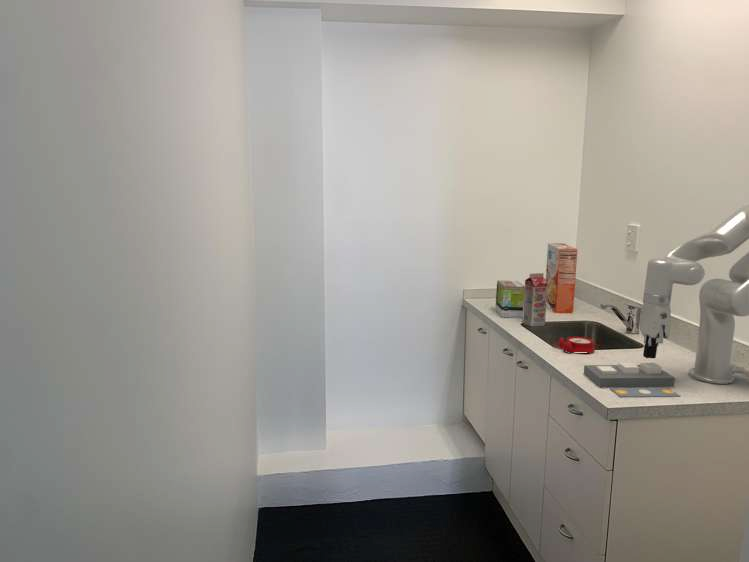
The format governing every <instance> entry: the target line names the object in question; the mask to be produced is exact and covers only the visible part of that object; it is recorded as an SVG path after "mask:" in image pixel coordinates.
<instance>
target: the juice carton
mask: <svg viewBox="0 0 749 562" xmlns="http://www.w3.org/2000/svg"><path fill="white" fill-rule="evenodd" d="M547 284H548V282H547V281H546V278H545V277H544V272H543V273H542V272H541V273H537V272H536V273H529V277H528V278H526V279H525V280H524V286H525V291H524V306H523V317H522V323H523V324H525V325H528V326H529V327H540V326H546V325H545V324H546V314H547V312H546V311H547V305H546V299H547Z"/></svg>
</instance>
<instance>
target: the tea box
mask: <svg viewBox="0 0 749 562" xmlns="http://www.w3.org/2000/svg"><path fill="white" fill-rule="evenodd" d="M524 291H525V284H524V285H523V283H521V282H520V281H518V280H497V281H496V291H495V309H494V310H495V311H496V313H497V314H498V315H499V316H500V317H501V318H503V317H505V318H506V319H507V318H508V319H510V318H511V319H523V309H524Z"/></svg>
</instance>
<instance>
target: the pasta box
mask: <svg viewBox="0 0 749 562" xmlns="http://www.w3.org/2000/svg"><path fill="white" fill-rule="evenodd" d="M577 261H578V249H577V248H576V247H573V246H571V245H570V244H569V245H568V244H567V243H561V242H560V243H556V242H555V243H552V242H551V243H550V242H548V243H547V253H546V269H545V280H546V281H547V282H548V284H547V299H546V303H547V304H548V305H549V306H550V308H551V309H552V310H551V309H550V308H549V309H550V310H551V311H553V313H554V314H574V303H575V301H574V299H575V287H576V286H575V285H576V273H577Z"/></svg>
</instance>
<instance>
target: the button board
mask: <svg viewBox="0 0 749 562" xmlns="http://www.w3.org/2000/svg"><path fill="white" fill-rule="evenodd" d="M636 365H637V366H638V367H639V374H624V373H622V372H621V371H619V370H618V366H619V364H601V365H600V364H591V365H589V364H585V365H583V366H584V367H583V375H584V374H585V375H586V376H587V378H588V380H590V381H591V380H592V381H593V382H592V381H591V382H592V383H593V384H594V385H596V386H597V385H598V386H599V387H603V389H605V388H604V387H606V388H607V389H610V388H611V387H612V388H675V381H676V377H675V376H673V375H671V374H670V373H668V372H667V371H665V370H663V369H661V374H646V373H644V372H643V371H641V370H640V364H636ZM597 366H611V367H612V368H614V369H615V370H616V371H617V374H601V373H600V372H599V371H597V370H596V368H597ZM585 375H584V376H585ZM586 376H585V377H586ZM598 386H597V387H598ZM599 387H598V388H599ZM608 387H609V388H608Z"/></svg>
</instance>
